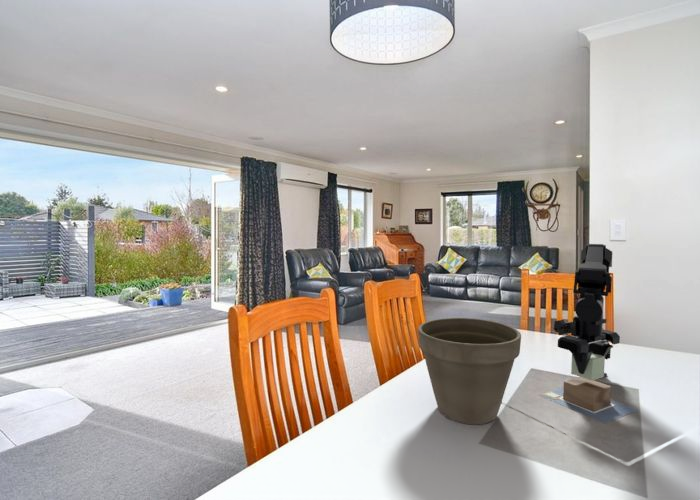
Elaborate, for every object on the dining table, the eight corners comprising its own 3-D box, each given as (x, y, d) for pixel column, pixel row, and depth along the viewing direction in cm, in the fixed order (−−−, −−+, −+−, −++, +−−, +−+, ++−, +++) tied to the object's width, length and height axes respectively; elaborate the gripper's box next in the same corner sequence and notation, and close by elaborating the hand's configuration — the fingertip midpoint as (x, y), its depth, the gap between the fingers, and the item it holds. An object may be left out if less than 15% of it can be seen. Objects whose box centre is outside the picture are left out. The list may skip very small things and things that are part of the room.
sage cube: (583, 370, 110) (584, 350, 110) (603, 376, 105) (604, 356, 105) (571, 373, 107) (572, 353, 107) (591, 380, 103) (592, 359, 102)
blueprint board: (571, 386, 118) (571, 384, 118) (638, 411, 102) (638, 408, 102) (538, 396, 111) (538, 394, 111) (605, 425, 95) (605, 422, 95)
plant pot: (446, 443, 87) (448, 346, 85) (402, 396, 110) (403, 320, 109) (541, 428, 93) (544, 338, 92) (480, 387, 117) (482, 315, 116)
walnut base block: (580, 393, 112) (581, 376, 112) (610, 404, 105) (611, 386, 105) (563, 399, 108) (563, 381, 108) (592, 411, 101) (593, 392, 101)
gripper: (581, 305, 117) (579, 357, 118) (540, 311, 108) (538, 367, 109) (622, 312, 107) (619, 369, 108) (580, 320, 98) (578, 382, 99)
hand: (587, 371), depth 106 cm, fingers closed on sage cube, 5 cm apart
